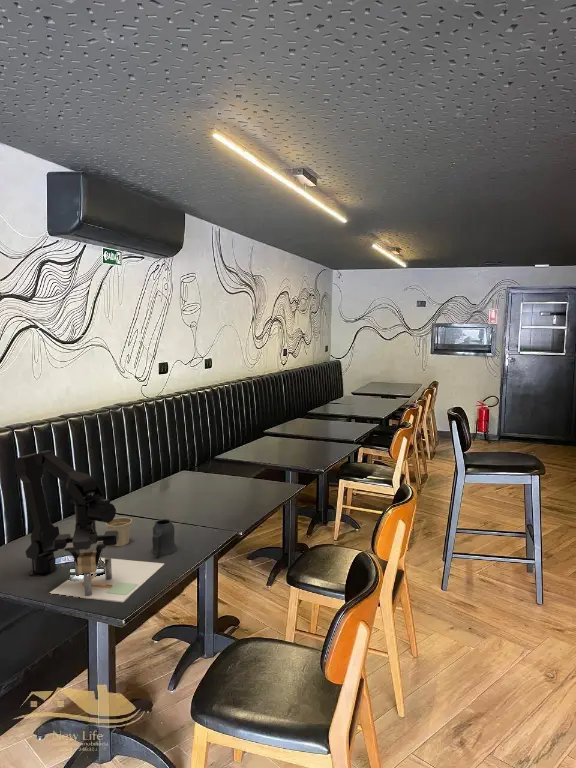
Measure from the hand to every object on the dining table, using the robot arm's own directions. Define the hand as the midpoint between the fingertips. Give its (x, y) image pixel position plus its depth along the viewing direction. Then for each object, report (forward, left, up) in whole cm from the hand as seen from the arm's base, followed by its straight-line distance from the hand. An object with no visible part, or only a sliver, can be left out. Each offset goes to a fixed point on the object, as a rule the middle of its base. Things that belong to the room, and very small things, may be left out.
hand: (88, 566), depth 172 cm
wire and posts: (0, +1, -6) cm, 6 cm away
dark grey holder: (+12, +27, -6) cm, 30 cm away
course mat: (+4, +5, -6) cm, 9 cm away
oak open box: (0, 0, -1) cm, 1 cm away
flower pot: (-8, +32, -6) cm, 34 cm away
